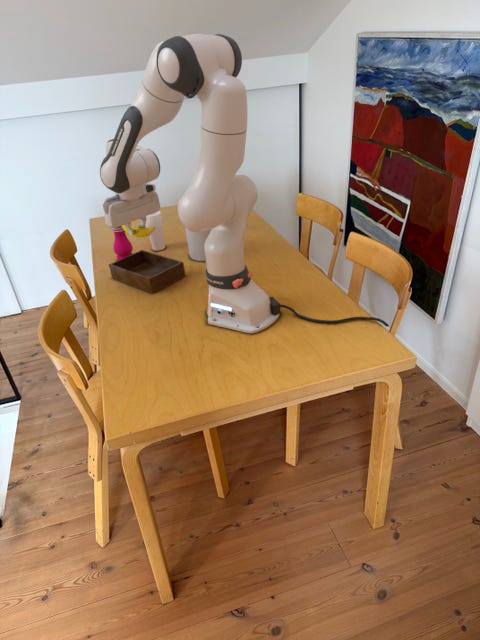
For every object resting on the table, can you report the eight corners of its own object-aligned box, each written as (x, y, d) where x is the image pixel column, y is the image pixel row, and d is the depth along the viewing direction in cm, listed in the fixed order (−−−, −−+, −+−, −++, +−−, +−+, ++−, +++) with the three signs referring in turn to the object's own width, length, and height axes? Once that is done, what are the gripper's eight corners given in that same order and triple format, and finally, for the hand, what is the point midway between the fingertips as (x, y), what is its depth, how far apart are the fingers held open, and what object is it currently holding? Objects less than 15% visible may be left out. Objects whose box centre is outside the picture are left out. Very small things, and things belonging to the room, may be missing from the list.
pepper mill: (125, 264, 176) (114, 213, 165) (112, 261, 179) (100, 211, 169) (138, 257, 181) (128, 207, 170) (125, 254, 184) (114, 205, 174)
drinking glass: (163, 252, 183) (157, 215, 175) (148, 252, 184) (140, 216, 176) (169, 245, 188) (163, 210, 181) (154, 245, 190) (147, 210, 182)
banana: (154, 243, 147) (150, 224, 144) (118, 234, 158) (113, 216, 155) (160, 240, 149) (157, 221, 145) (124, 231, 160) (120, 214, 156)
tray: (185, 276, 162) (183, 261, 159) (152, 293, 153) (149, 279, 150) (144, 262, 175) (142, 249, 172) (112, 278, 166) (108, 264, 163)
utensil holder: (229, 246, 183) (225, 203, 173) (223, 261, 170) (219, 216, 161) (193, 247, 185) (187, 205, 176) (185, 262, 172) (178, 218, 163)
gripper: (107, 201, 137) (118, 244, 144) (159, 183, 150) (166, 224, 157) (95, 198, 141) (106, 241, 148) (146, 182, 153) (154, 221, 160)
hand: (137, 232), depth 152 cm, fingers closed on banana, 3 cm apart
